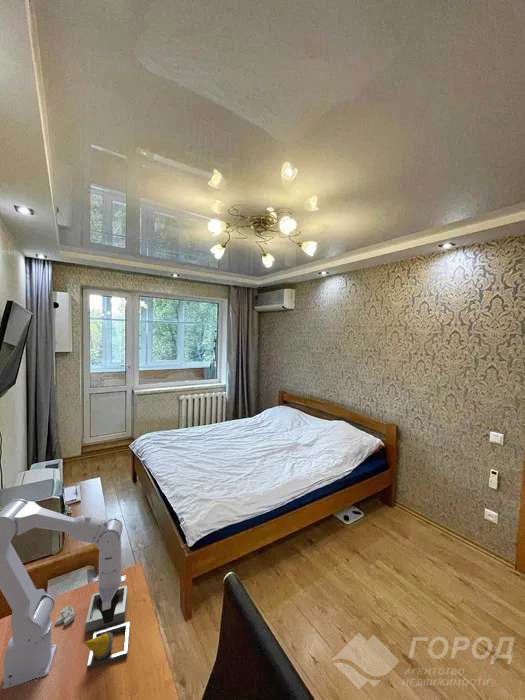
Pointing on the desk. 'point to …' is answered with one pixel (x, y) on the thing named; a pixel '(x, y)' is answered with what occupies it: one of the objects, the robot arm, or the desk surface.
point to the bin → (95, 616)
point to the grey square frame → (115, 656)
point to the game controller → (66, 615)
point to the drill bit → (101, 645)
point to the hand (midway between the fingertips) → (110, 613)
